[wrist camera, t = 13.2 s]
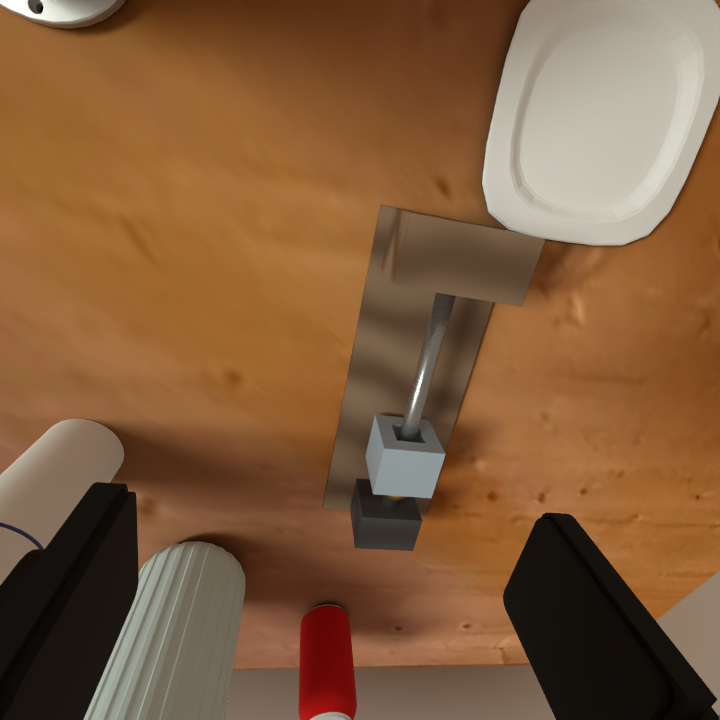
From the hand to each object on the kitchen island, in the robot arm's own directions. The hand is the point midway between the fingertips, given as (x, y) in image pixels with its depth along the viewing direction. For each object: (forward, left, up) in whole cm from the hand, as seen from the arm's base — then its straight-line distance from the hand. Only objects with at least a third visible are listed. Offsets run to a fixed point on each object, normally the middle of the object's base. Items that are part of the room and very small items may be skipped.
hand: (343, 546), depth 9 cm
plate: (-16, +20, -29) cm, 39 cm away
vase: (+35, -9, -28) cm, 46 cm away
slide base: (+9, +10, -28) cm, 31 cm away
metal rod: (+10, +10, -26) cm, 30 cm away
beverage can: (+43, +7, -28) cm, 52 cm away
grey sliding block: (+14, +10, -27) cm, 32 cm away
